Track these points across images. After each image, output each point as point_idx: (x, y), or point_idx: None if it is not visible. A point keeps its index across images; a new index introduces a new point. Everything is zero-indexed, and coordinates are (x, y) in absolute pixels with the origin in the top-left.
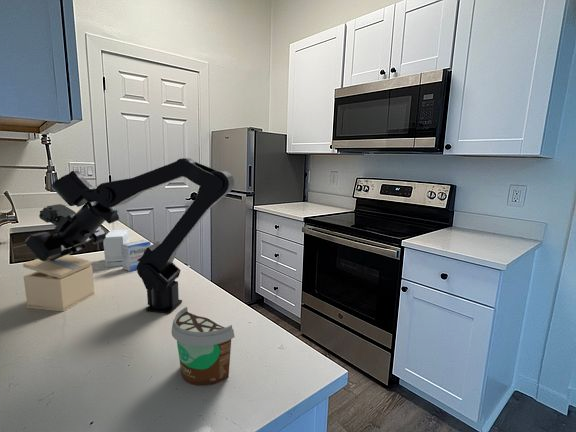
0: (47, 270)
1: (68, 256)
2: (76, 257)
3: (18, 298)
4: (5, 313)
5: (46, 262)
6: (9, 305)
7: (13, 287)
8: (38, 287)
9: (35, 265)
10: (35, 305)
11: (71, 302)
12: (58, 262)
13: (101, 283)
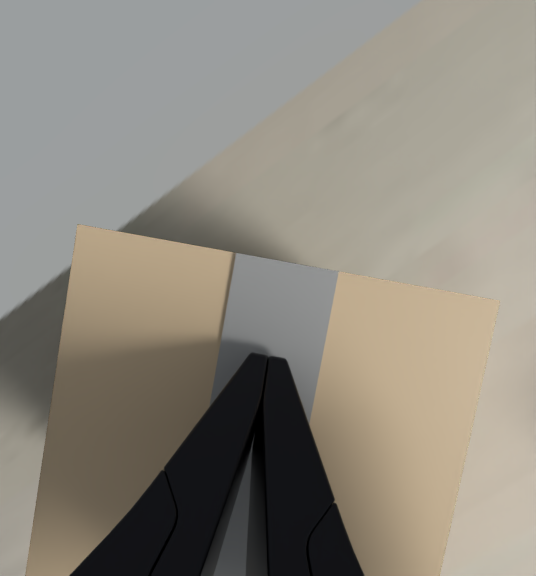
0: (48, 481)
1: (427, 447)
2: (442, 522)
3: (280, 168)
4: (125, 228)
5: (196, 370)
6: (205, 184)
7: (404, 53)
8: None
9: (91, 335)
10: None
11: None
12: None
13: (499, 473)
